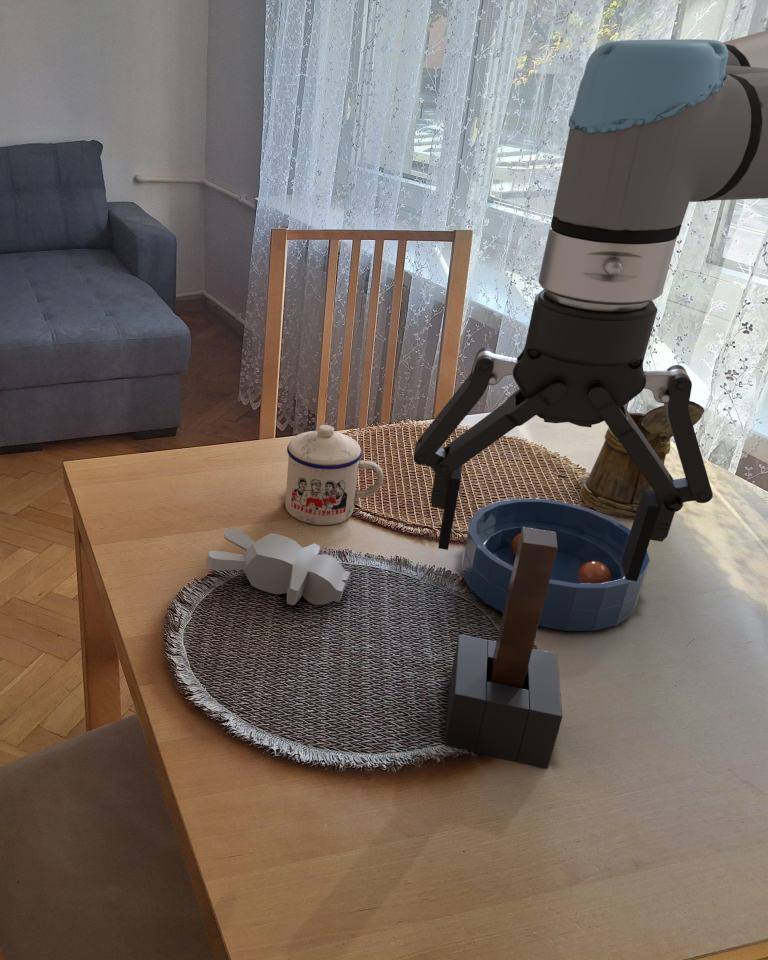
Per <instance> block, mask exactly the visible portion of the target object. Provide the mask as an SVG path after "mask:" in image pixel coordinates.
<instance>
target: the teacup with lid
mask: <svg viewBox="0 0 768 960" xmlns="http://www.w3.org/2000/svg"><path fill="white" fill-rule="evenodd" d="M286 452H287V455H288V459H287V472H286V473H287V474H286V489H285V490H286V491H285V503H284V504H285V509H286V512H288V513H289V514H290V515H291V516H292V517H293V518H295V519H296V520H297V521H298V520H299V521H301V522H303V523H305V524H310V525H317V526H331V525H336V524H340V523H342V522H345V521H346V520H348V519H349V518H350V517H351V516H352V515H353V513H354V510H355V509H354V508H355V499H356V498H357V499H364V498H369V497H371V496H373V495H375V494H376V493H377V492H378V491H379V490H380V488H381V486H382V485H383V482H384V472H383V469H382V467H381V466H380V465H379V464H377V463H376V462H373V461H370V460H361V459H362V454H363V452H362V449H361V446H360V444H359V443H358V441H356V439H354V438H352V437H351V436H349V435H347V434H345V433H342V432H338V431H335V428H334V426H332V425H329V424H321V425H319V426H318V427H317V430H310V431H304V432H301V433H299V434H297V435H295V436H294V437H292V439H290V441H289V442H288V445H287V448H286ZM359 469H367V470H371V471H373V472H374V473H375V474H376V475H377V478H376V480H375V482H374V483H373V484H372V485H371V486H370V487H368V488H365V489H357V482H358V473H359Z"/></svg>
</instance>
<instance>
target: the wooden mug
mask: <svg viewBox="0 0 768 960" xmlns="http://www.w3.org/2000/svg"><path fill="white" fill-rule="evenodd" d="M688 410H689V414H690V417H691V420H692V424H693V426H695V425H696V424H697V423H698V422H700V420H701V419H702V417H703V415H704V413H705V411H706V410H705V408H704V407H703V406H701V404H698V403H697V402H696V401H692V400H689V406H688ZM629 414H630V416H631V418H632V419H633V421H634V422H635V423H636V425H637V426H638V428H639V429H640V431H641V432H642V434H643V435H644V437H645V438H646V440H647V441H648V442H649V444H650V445H651V447H652V448H653V450H654V451H655V453H656V454H657V456H658V457H659V459H660V460H661V461H662V463H663V464H664V465H665V462H666V457H667V455H668V454H670V452H671V438H673V434H672V430H671V427H670V424H669V420H668V417H667V414H666V410H665V407H664V405H661V406H657V407H654V408H653V409H650V410H649V411H648V412H646V413H640V412H629ZM643 489H649V490H653V489H652V487H651V486H650V484H649V483H648V482H647V480H646V479H645V477H644V476H643V474H642V473H641V471H640V470H639V468H638V467H637V466H636V464H635V463H634V461H633V460H632V458H631V457H630V455H629V454H628V453H627V451H626V450H625V448H624V447H623V445H622V444H621V442H620V441H619V440H618V438H616V437H615V435H614V434H613V433H612V431H611V430H610V428H609V427H608V428H607V430H606V432H605V435H604V442H603V445H602V447H601V449H600V450H599V453H598V456H597V458H596V459H595V462H594V464H593V467H592V469H591V471H590V473H589V475H588V477H587V478H586V479H585V481H584V483H583V484H582V486H581V488H580V490H579V492H578V494H579V497H580V499H581V500H582V501H583V502H584V503H585V504H587V505H588V506H589V507H590V508H592V509H593V510H594V511H597V512H599V513H602V514H604V515H607V516H608V515H609V516H613V517H617V518H623V519H635V516H636V512H637V509H638V506H639V502H640V499H641V496H642V492H643Z"/></svg>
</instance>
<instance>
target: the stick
mask: <svg viewBox="0 0 768 960" xmlns="http://www.w3.org/2000/svg"><path fill="white" fill-rule="evenodd" d="M557 549H558V547H557V537H556V532H553V531H546V530H540V529H533V528H526V527H522V530H521V535H520V539H519V544H518V548H517V553H516V557H515V562H514V566H513V570H512V575H511V579H510V584H509V588H508V593H507V597H506V602H505V606H504V611H503V613H502V615H501V621H500V624H499V629H498V633H497V638H496V641H495V642H496V646H495V651H494V655H493V660H492V664H491V669H490V673H489V678H488V682H492V683H497V684H502V685H507V686H512V687H516V688H521V689H523V685H524V681H525V677H526V673H527V669H528V665H529V661H530V657H531V653H532V649H534V644H535V641H536V637H537V632H538V630H539V626H538V625H539V621H540V617H541V613H542V609H543V605H544V601H545V597H546V593H547V589H548V585H549V581H550V577H551V573H552V569H553V565H554V561H555V557H556V553H557Z"/></svg>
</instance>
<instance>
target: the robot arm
mask: <svg viewBox="0 0 768 960" xmlns="http://www.w3.org/2000/svg"><path fill="white" fill-rule="evenodd" d="M582 74H583V75H582V77H581V80H580V82H579V85H578V88H577V89H578V90H577V93H576V98H575V101H574V106H573V109H572V112H571V114H570V116H569V120H568V127H569V128H568V129H569V130H568V135H567V140H566V144H565V151H564V156H563V159H562V167H561V170H560V176H559V182H558V186H557V191H556V196H555V200H554V206H553V210H552V211H553V212H552V218H551V222H550V226H549V229H548V233H547V238H546V243H545V247H544V252H543V257H542V263H541V266H540V271H539V276H538V284H539V286H540V287H542V290H540V291H539V293H537V294H536V295H535V296H534V300H533V305H532V309H531V310H532V311H531V315H530V319H529V320H530V321H529V325H528V330H527V334H526V339H525V343H524V347H523V350H522V351H521V353H520V354H519V355H518V357H516V358H515V357H511V356H505V355H500V354H495V353H494V350H493V349H492V348H491V347H485V346H484V347H482V348H480V349H478V351H477V352H476V355H475V358H474V361H473V365H472V368H471V371H470V374H469V375H468V376H467V378H465V380H464V381H463V382H462V384H461V385H460V386H459V388H457V390H456V391H455V392H454V394H453V395H452V397H451V398H449V400H448V401H447V403H446V404H445V405H444V406H443V408H442V409H441V411H440V412H439V413H438V414H437V415H436V416H435V418H434V419H433V420H432V422H431V423H430V424H429V426H428V427H427V428H426V429H425V431H424V432H423V433H422V434H421V436H420V437H419V438H418V440H417V441H416V442H415V447H414V452H413V461H414V463H416V464H417V465H419V466H424V465H425V466H427V467H429V468H430V469H432V470H433V472H434V478H433V483H432V489H431V496H430V504H431V507H432V508H437V509H442V510H443V513H442V518H441V523H440V524H441V525H440V530H439V538H438V545H437V546H438V548H437V549H438V550H445V551H449V546H450V543H451V536H452V531H453V526H454V525H453V524H454V519H455V514H456V509H457V502H458V497H459V491H460V487H461V482H462V471H463V465H466V463H468V462H469V461H470V460H472V459H473V458H474V457H476V456H477V455H478V454H480V453H481V452H483V451H484V450H486V449H487V448H488V447H490V446H491V445H493V444H494V443H496V442H497V441H498V440H499V439H501V438H502V437H503V436H505V435H506V434H508V433H510V432H511V431H512V430H513V429H515V428H516V427H521V426H523V425H524V424H526V423H528V422H529V421H530V420H531V419H533V418H534V417H535V416H536V417H538V418H540V419H542V420H543V423H548V424H550V423H551V424H563V423H564V424H565V423H570V424H573V425H575V426H578V427H582V428H583V427H584V428H592V426H594V425H597V424H600V423H603V422H605V424H606V426H607V427H608V428H610V430H611V431H612V433H613V434H614V435H615V437H616V438H618V440H619V441H620V442H621V444H622V445H623V447H624V448H625V450H626V451H627V453H628V454H629V455H630V457H631V458H632V460H633V461H634V463H635V464H636V466H637V467H638V468H639V470H640V471H641V473H642V474H643V476H644V477H645V479H646V480H647V482H648V483H649V484H650V486H651V487H652V489H653V490H649V489H643V492H642V496H641V499H640V502H639V506H638V509H637V512H636V516H635V518H633V523H632V525H631V529H630V530H631V532H630V535H629V539H628V542H627V545H626V549H625V552H624V555H623V558H622V564H623V568H624V573H625V578H626V580H631V581H637V580H638V577H639V574H640V570H641V567H642V564H643V561H644V558H645V555H646V552H647V551H648V548H649V546H650V543H651V542H650V541H655V542H662V543H663V542H664V541H665V539H666V538H668V534H669V532H670V529H671V527H672V526H671V525H672V523H673V520H674V517H675V514H676V513H677V512H679V511H681V510H682V509H683V507H684V503H687V502H696V503H698V504H706V503H709V502H710V501H711V500H712V499H713V497H714V493H713V490H712V487H711V483H710V480H709V477H708V473H707V469H706V465H705V462H704V459H703V455H702V451H701V449H700V445H699V441H698V438H697V434H696V431H695V428H694V425H693V424H692V420H691V417H690V414H689V410H688V406H689V401H691V393H692V387H693V383H692V380H691V378H690V376H689V374H688V372H687V370H686V368H685V367H684V366H683V365H680V364H673V365H671V366H669V367H668V368H667V369H666V370H644V360H645V357H646V354H647V350H648V347H649V343H650V339H651V336H652V331H653V328H654V324H655V321H656V318H657V314H658V307H657V305H656V304H655V302H654V300H656V299H658V298H659V297H661V295H662V294H663V291H664V288H665V284H666V281H667V276H668V274H669V270H670V266H671V261H672V258H673V254H674V250H675V247H676V243H677V239H678V237H679V235H680V233H681V229H682V224H683V222H684V219H685V216H686V214H687V210H688V208H689V204H690V203H698V202H700V203H701V202H711V201H735V200H736V201H737V200H760V199H761V200H763V199H768V29H766V30H763V31H762V30H761V31H759V32H756V33H751V34H747V35H745V36H741V37H738V38H734V39H729V40H727V41H723V42H722V41H720V40H715V39H702V38H701V39H697V38H696V39H695V38H690V39H689V38H687V39H686V38H685V39H671V38H670V39H667V38H665V39H663V38H661V39H623V40H614V41H608V42H606V43H603V44H601V45H600V46H598V47H597V48H596V49H594V51H593V52H592V53H591V54H590V56H589V57H588V59H587V61H586V64H585V68H584V71H583V73H582ZM506 376H513V377H512V378H513V380H514V381H515V383H516V385H517V387H518V390H516V391H515V392H513V393H512V394H511V395H510V396H508V398H507V399H506V400H505V402H503V403H502V404H500V405H499V406H498V407H497V408H495V409H494V410H493V411H491V412H489V414H488V415H486V416H484V417H483V418H482V419H481V420H479V421H478V422H477V423H475V424H474V425H472V426H471V427H470V428H469V429H467V430H466V431H464V432H463V433H462V434H460V435H459V436H457V437H456V438H455V439H454V440H452V441H451V442H450V443H449V444H447V445H445V446H444V447H443V445H444V444H445V443H446V441H447V440H448V439H449V438H450V436H451V435H452V434H453V432H455V430H456V429H457V428H458V426H460V424H461V423H462V421H463V420H464V419H465V418H466V416H468V415H469V413H470V412H471V410H472V409H473V408H474V407H475V406H476V404H477V403H478V402H479V401H480V400H481V398H482V397H483V395H484V394H485V392H486V390H487V388H488V386H495V385H497V384H499V383H500V382H501V380H502V379H503V378H504V377H506ZM645 389H646V390H649V391H650V392H651V393H652V396H653V399H654V400H655V402H657V403H659V404H663V406H664V407H665V410H666V414H667V417H668V420H669V424H670V427H671V430H672V434H673V436H672V438H673V441H674V444H675V448H676V450H677V454H678V457H679V460H680V464H681V467H682V470H683V473H684V477H682V478H681V477H680V478H673V476H672V474H671V472H670V471H669V470H668V469H667V467H666V466H665V463H664V464H663V463H662V461H661V460H660V459H659V457H658V456H657V454H656V453H655V451H654V450H653V448H652V447H651V445H650V444H649V442H648V441H647V440H646V438H645V437H644V435H643V434H642V432H641V431H640V429H639V428H638V426H637V425H636V423H635V422H634V421H633V419H632V418H631V416H630V414H629V413H630V412H629V411H628V409H627V407H626V406H625V405H627V404H628V403H629V402H631V401H632V400H633V399H634V398H636V397H637V396H639V395H640V394H641V393H642V392H643V391H644V390H645Z"/></svg>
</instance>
